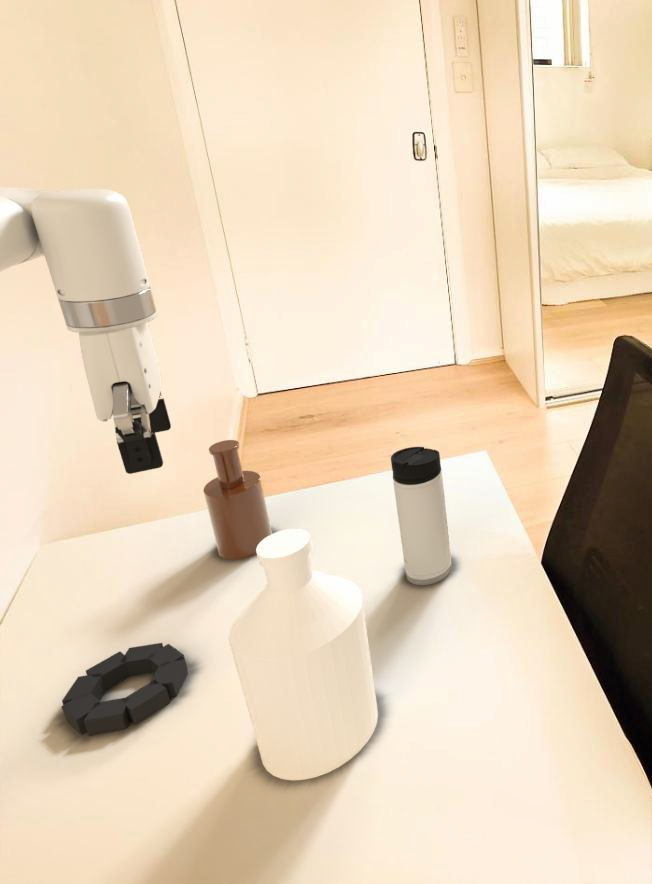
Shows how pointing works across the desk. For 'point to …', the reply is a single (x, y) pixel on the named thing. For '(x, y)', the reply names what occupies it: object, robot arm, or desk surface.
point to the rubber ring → (118, 713)
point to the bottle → (304, 663)
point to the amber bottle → (235, 504)
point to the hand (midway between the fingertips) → (150, 449)
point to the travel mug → (421, 514)
